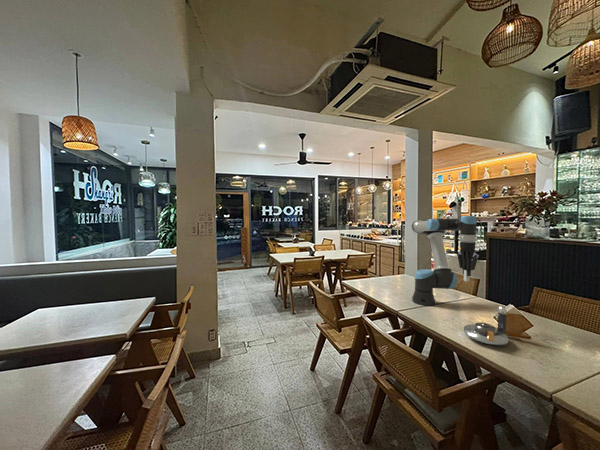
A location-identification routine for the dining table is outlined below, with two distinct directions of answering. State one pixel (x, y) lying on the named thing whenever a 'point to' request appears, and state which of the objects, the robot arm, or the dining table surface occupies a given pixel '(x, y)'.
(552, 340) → the dining table surface
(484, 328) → the cover
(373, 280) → the dining table surface
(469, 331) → the platter
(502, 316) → the indicator post
